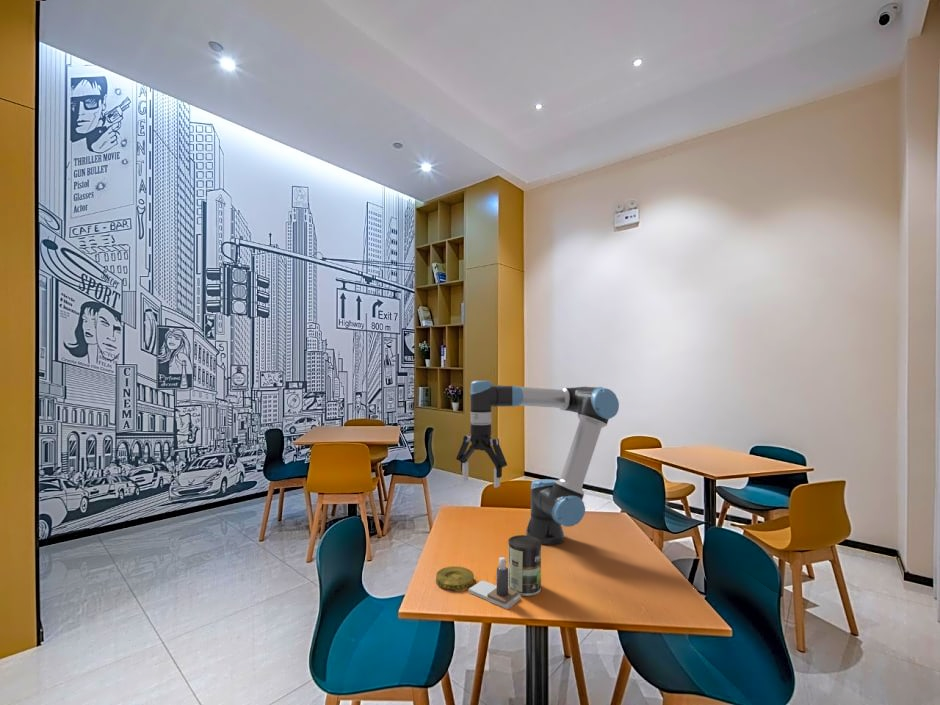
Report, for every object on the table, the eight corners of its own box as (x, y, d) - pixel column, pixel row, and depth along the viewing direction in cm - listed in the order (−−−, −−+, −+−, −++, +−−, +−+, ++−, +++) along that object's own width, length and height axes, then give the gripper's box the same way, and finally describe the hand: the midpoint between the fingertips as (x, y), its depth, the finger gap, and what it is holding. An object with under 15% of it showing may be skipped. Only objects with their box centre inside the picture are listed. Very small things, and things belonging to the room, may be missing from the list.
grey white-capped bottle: (501, 588, 123) (501, 555, 123) (510, 592, 121) (510, 558, 121) (494, 593, 120) (494, 559, 120) (503, 597, 118) (503, 562, 118)
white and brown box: (482, 583, 130) (482, 577, 130) (520, 599, 121) (520, 592, 121) (468, 592, 124) (468, 586, 124) (507, 609, 115) (507, 602, 115)
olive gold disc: (479, 577, 134) (479, 571, 134) (464, 595, 123) (464, 588, 123) (446, 570, 138) (446, 563, 139) (429, 586, 127) (429, 579, 128)
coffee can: (543, 582, 131) (543, 537, 132) (538, 599, 121) (538, 550, 122) (511, 576, 134) (512, 532, 135) (504, 592, 124) (504, 545, 125)
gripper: (447, 422, 151) (446, 480, 150) (505, 427, 137) (505, 492, 136) (459, 420, 158) (459, 476, 156) (516, 425, 143) (516, 486, 142)
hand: (480, 483), depth 146 cm, fingers open, 13 cm apart
